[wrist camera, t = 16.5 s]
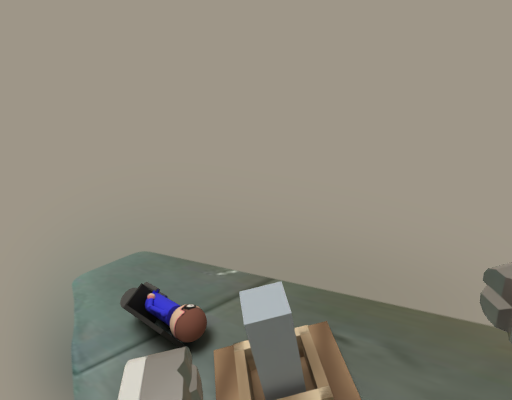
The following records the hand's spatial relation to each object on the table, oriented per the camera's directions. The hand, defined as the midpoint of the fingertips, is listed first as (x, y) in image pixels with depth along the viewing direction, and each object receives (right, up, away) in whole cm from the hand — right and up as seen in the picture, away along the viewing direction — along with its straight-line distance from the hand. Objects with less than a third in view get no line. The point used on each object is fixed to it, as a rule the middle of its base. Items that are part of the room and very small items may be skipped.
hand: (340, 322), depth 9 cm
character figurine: (-15, -17, +44) cm, 50 cm away
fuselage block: (+1, -19, +31) cm, 36 cm away
